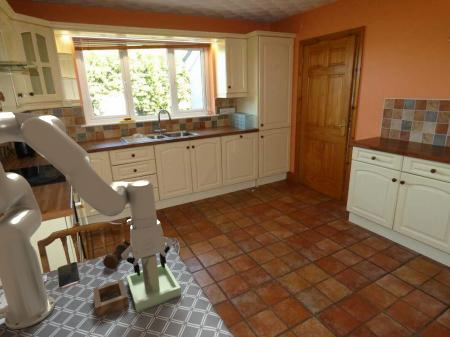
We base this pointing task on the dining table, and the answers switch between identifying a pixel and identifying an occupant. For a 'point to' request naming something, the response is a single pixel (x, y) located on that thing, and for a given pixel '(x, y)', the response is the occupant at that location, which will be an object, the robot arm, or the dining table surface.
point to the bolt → (115, 255)
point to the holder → (113, 303)
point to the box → (150, 273)
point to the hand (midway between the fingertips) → (150, 269)
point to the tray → (147, 300)
